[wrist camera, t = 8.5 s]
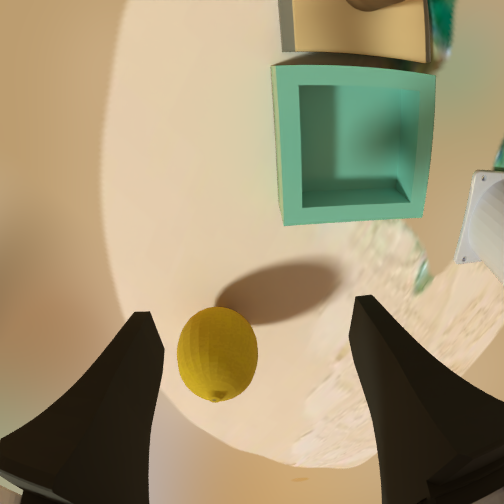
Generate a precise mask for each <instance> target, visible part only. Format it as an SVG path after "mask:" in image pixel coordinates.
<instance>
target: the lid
mask: <svg viewBox="0 0 504 504" xmlns="http://www.w3.org/2000/svg"><path fill="white" fill-rule="evenodd" d="M292 6H293V20H294V37H295V52H331V53H347V54H359V55H369V56H378V57H386V58H394V59H401V60H407V61H413V62H419V63H426V52H425V22H424V7H423V0H292Z"/></svg>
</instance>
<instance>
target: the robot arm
mask: <svg viewBox="0 0 504 504" xmlns="http://www.w3.org/2000/svg"><path fill="white" fill-rule="evenodd" d="M483 176H484V177H483ZM482 177H483V179H482ZM463 257H464V258H463ZM479 261H483V262H484V263H485V265H486V266H487V267H488V268H489V269H490V270H491V272H492V273H493V274H494V275H495V276H496V278H497V279H498V280H499V281H500V282H501V284H502V285H503V286H504V172H503V171H490V170H476V171H475V172H474V173H473V176H472V182H471V187H470V192H469V197H468V202H467V207H466V212H465V217H464V220H463V225H462V229H461V233H460V237H459V240H458V245H457V248H456V251H455V255H454V262H455V263H456V264H464V263H472V262H479ZM349 341H350V346H351V351H352V356H353V360H354V364H355V367H356V370H357V373H358V376H359V379H360V382H361V385H362V388H363V391H364V394H365V397H366V400H367V403H368V407H369V410H370V413H371V417H372V421H373V427H374V432H375V438H376V444H377V451H378V458H379V466H380V477H381V490H382V504H504V402H503V401H501V400H498V399H496V398H494V397H493V396H491V395H489V394H487V393H485V392H483V391H482V390H480V389H478V388H477V387H475V386H473V385H472V384H470V383H469V382H467V381H466V380H464V379H463V378H461V377H460V376H458V375H457V374H455V373H454V372H453V371H451V370H450V369H449V368H447V367H446V366H445V365H444V364H442V363H441V362H440V361H438V360H437V359H436V358H435V357H434V356H432V355H431V354H430V353H429V352H428V351H427V350H426V349H425V348H423V347H422V346H421V345H420V344H419V343H418V342H417V341H416V340H415V339H414V338H413V337H412V336H411V335H410V334H409V333H408V332H407V331H406V330H405V329H404V328H403V327H402V326H401V325H400V324H399V323H398V322H397V321H396V320H395V319H394V318H393V317H392V316H391V314H390V313H389V312H388V311H387V310H386V309H385V308H384V307H383V306H382V305H381V304H380V303H379V302H378V301H377V300H376V299H375V297H374V296H373V295H365V296H356V297H355V303H354V309H353V315H352V320H351V326H350V331H349ZM164 350H165V349H164V346H163V344H162V341H161V339H160V336H159V334H158V331H157V329H156V326H155V323H154V321H153V318H152V316H151V313H150V311H148V312H134V313H133V314H132V316H131V317H130V318H129V319H128V321H127V322H126V323H125V324H124V326H123V327H122V328H121V330H120V331H119V332H118V333H117V335H116V336H115V337H114V339H113V340H112V341H111V342H110V344H109V345H108V346H107V347H106V349H105V350H104V351H103V352H102V354H101V355H100V356H99V357H98V359H97V360H96V361H95V362H94V363H93V364H92V365H91V367H90V368H89V369H88V370H87V371H86V372H85V374H84V375H83V376H82V377H81V378H80V379H79V380H78V381H77V382H76V383H75V384H74V385H73V386H72V387H71V388H70V389H69V390H68V391H67V392H66V393H65V394H64V395H63V396H61V397H60V398H59V399H58V400H57V401H56V402H54V403H53V404H52V405H51V406H50V407H48V409H46V410H45V411H44V412H42V413H41V414H40V415H38V416H37V417H36V418H34V419H33V420H31V421H30V422H28V423H27V424H25V425H24V426H22V427H21V428H19V429H17V430H16V431H14V432H12V433H10V434H9V435H7V436H5V437H3V438H1V440H0V476H1V477H3V478H5V479H6V480H7V481H9V482H11V483H12V484H14V485H16V486H17V487H19V488H21V489H23V494H22V496H21V495H20V494H18V493H15V492H13V491H11V490H9V489H7V488H5V487H3V486H1V485H0V504H149V486H148V485H149V484H148V470H149V446H150V433H151V425H152V421H153V416H154V411H155V406H156V402H157V397H158V392H159V388H160V383H161V378H162V373H163V363H164Z"/></svg>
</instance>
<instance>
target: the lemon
mask: <svg viewBox="0 0 504 504" xmlns="http://www.w3.org/2000/svg"><path fill="white" fill-rule="evenodd" d="M177 360H178V367H179V372H180V375H181V378H182V380H183V381H184V383H185V385H186V386H187V387H188V388H189V389H190V390H191V391H192V392H193V393H194V394H196V395H197V396H199V397H201V398H203V399H206V400H210V401H211V402H219V401H225V400H229V399H232V398H234V397H236V396H237V395H239V394H241V393H242V392H243V391H244V390H245V389H246V388H247V387H248V386H249V384H250V383H251V381H252V378H253V376H254V373H255V370H256V366H257V360H258V348H257V340H256V336H255V334H254V331H253V329H252V327H251V325H250V324H249V322H248V321H247V320H246V319H245V318H244V317H243V316H242V315H240V314H239V313H237V312H236V311H234V310H231V309H229V308H224V307H211V308H207V309H204V310H202V311H199V312H198V313H196V314H195V315H194V316H192V317H191V318H190V319H189V321H188V322H187V323H186V325H185V326H184V328H183V330H182V332H181V335H180V338H179V342H178V347H177Z"/></svg>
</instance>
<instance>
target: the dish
mask: <svg viewBox="0 0 504 504" xmlns="http://www.w3.org/2000/svg"><path fill="white" fill-rule="evenodd" d="M270 68H271V81H272V95H273V110H274V126H275V143H276V161H277V180H278V201H279V207H280V211H281V216H282V220H283V224H284V226H291V225H305V224H320V223H335V222H351V221H367V220H385V219H403V218H421V217H422V215H423V210H424V204H425V198H426V190H427V184H428V177H429V169H430V160H431V151H432V140H433V127H434V113H435V85H436V75H430V74H423V73H416V72H409V71H401V70H393V69H383V68H372V67H358V66H338V65H280V66H270Z"/></svg>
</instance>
